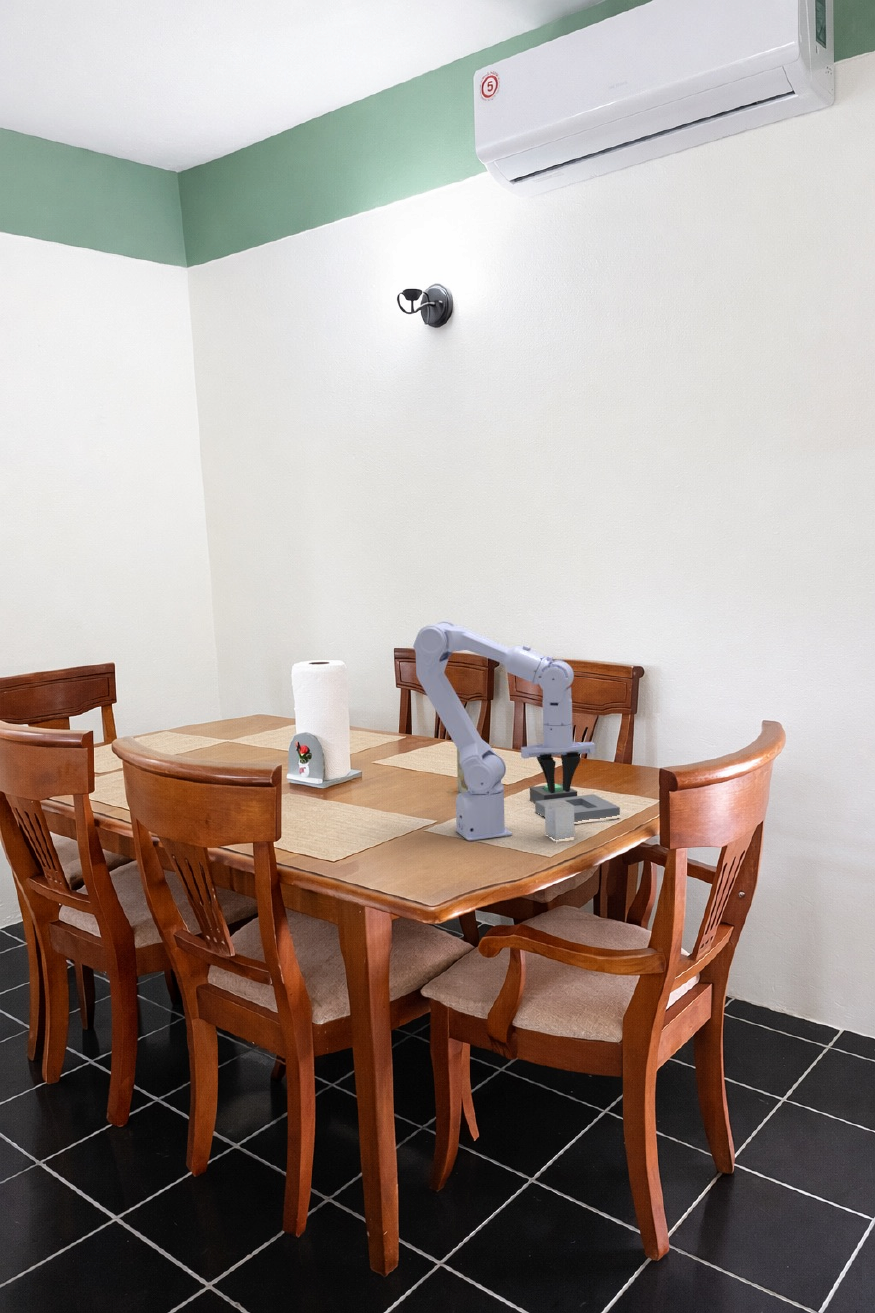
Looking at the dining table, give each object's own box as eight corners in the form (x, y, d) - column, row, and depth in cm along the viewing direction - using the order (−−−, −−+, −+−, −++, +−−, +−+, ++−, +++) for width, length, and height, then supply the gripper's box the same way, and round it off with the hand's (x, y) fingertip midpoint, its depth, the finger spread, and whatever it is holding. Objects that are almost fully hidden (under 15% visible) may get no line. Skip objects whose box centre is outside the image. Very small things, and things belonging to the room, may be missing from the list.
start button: (549, 797, 222) (549, 788, 221) (543, 794, 225) (543, 785, 224) (562, 795, 222) (562, 787, 222) (556, 792, 226) (556, 784, 225)
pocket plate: (558, 826, 205) (558, 815, 204) (535, 812, 216) (535, 801, 216) (619, 818, 209) (619, 807, 208) (593, 805, 220) (593, 794, 220)
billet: (555, 842, 194) (555, 807, 193) (545, 836, 199) (544, 801, 198) (574, 840, 195) (574, 805, 194) (563, 833, 200) (563, 799, 199)
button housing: (544, 808, 219) (544, 795, 218) (530, 800, 226) (529, 787, 226) (577, 804, 221) (577, 791, 221) (562, 796, 229) (561, 783, 228)
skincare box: (457, 791, 237) (455, 740, 235) (473, 788, 238) (472, 738, 237) (467, 797, 231) (465, 745, 229) (484, 794, 232) (483, 743, 231)
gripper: (586, 717, 200) (587, 783, 201) (516, 722, 197) (517, 789, 199) (598, 723, 193) (599, 792, 194) (526, 728, 190) (527, 798, 192)
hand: (558, 791), depth 196 cm, fingers closed
